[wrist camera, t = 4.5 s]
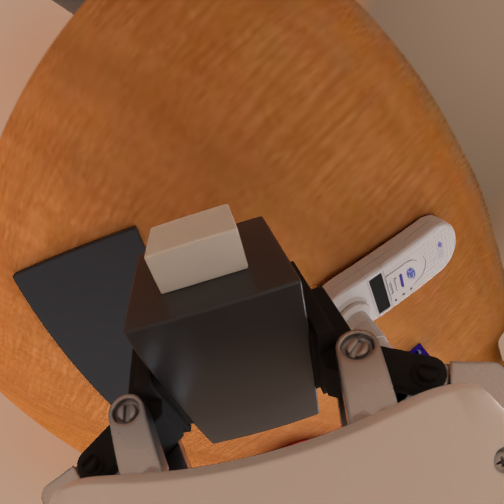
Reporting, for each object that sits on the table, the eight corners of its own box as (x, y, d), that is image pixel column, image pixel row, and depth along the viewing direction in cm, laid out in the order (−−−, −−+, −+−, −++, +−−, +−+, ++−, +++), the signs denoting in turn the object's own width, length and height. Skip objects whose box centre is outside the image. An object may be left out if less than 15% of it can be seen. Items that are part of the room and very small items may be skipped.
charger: (125, 223, 9) (97, 295, 6) (254, 182, 10) (294, 235, 6) (202, 372, 14) (212, 444, 10) (291, 346, 14) (319, 413, 10)
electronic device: (508, 296, 17) (370, 410, 18) (441, 245, 26) (322, 329, 27) (515, 248, 15) (354, 381, 16) (434, 202, 23) (300, 292, 24)
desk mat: (15, 272, 18) (12, 276, 18) (135, 225, 19) (134, 228, 18) (114, 404, 27) (114, 408, 27) (215, 384, 28) (215, 388, 27)
